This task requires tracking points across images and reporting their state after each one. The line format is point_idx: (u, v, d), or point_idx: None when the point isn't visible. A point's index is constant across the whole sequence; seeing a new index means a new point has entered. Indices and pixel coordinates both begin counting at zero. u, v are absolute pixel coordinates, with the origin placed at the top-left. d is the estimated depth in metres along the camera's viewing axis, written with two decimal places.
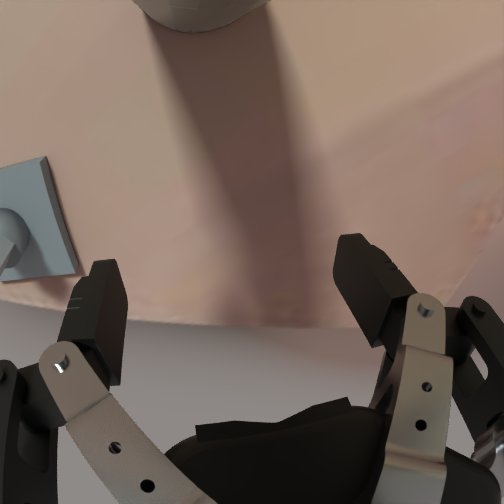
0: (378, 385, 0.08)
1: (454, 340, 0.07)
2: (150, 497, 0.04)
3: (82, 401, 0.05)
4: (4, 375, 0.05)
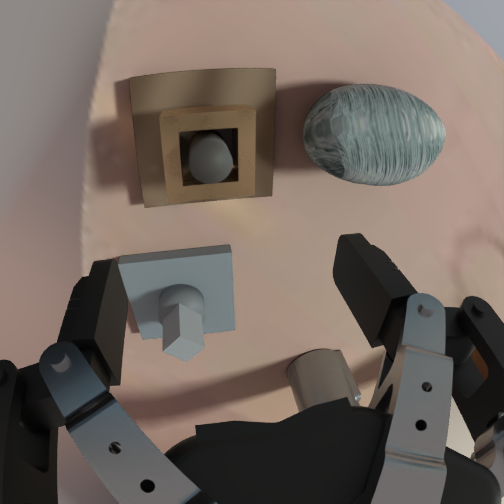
0: (378, 385, 0.08)
1: (454, 340, 0.07)
2: (150, 497, 0.04)
3: (82, 401, 0.05)
4: (4, 375, 0.05)
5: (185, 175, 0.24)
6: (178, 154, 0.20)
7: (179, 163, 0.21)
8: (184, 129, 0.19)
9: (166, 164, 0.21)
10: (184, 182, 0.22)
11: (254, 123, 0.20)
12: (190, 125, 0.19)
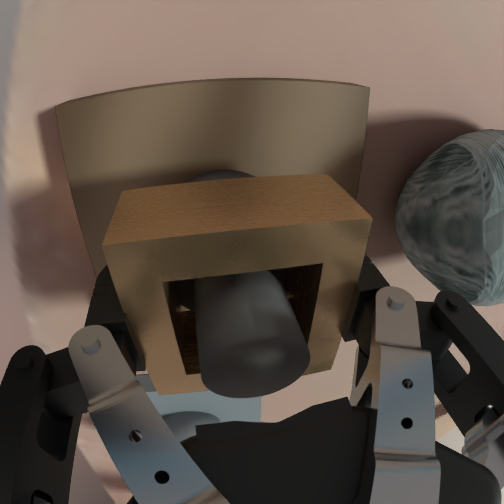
0: (355, 383, 0.08)
1: (427, 334, 0.08)
2: (163, 488, 0.04)
3: (108, 386, 0.06)
4: (32, 360, 0.06)
5: (187, 326, 0.11)
6: (168, 327, 0.08)
7: (173, 342, 0.09)
8: (177, 275, 0.07)
9: (142, 344, 0.08)
10: (188, 357, 0.10)
11: (363, 250, 0.08)
12: (194, 265, 0.07)
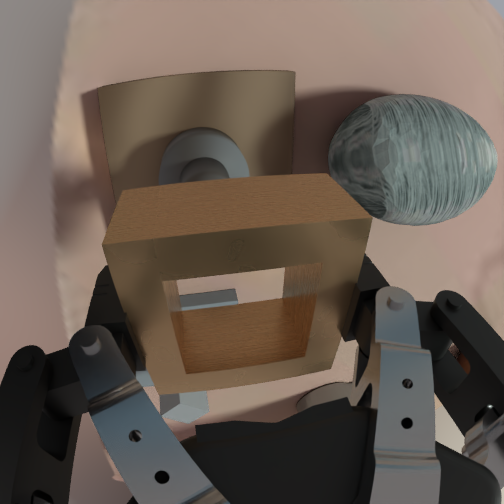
0: (355, 383, 0.08)
1: (427, 334, 0.08)
2: (162, 488, 0.04)
3: (108, 386, 0.06)
4: (32, 360, 0.06)
5: (187, 326, 0.11)
6: (168, 326, 0.08)
7: (173, 342, 0.09)
8: (177, 274, 0.07)
9: (143, 344, 0.08)
10: (188, 357, 0.10)
11: (363, 249, 0.08)
12: (194, 264, 0.07)
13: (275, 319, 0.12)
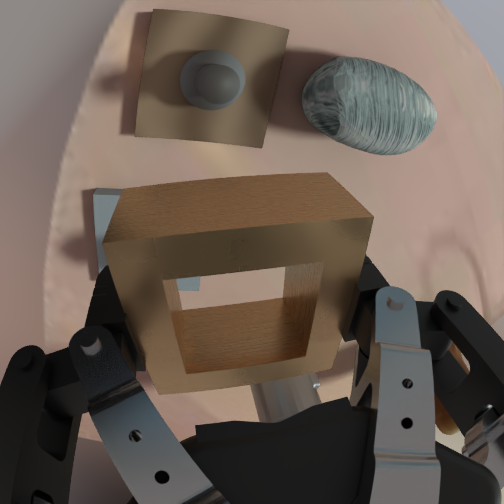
0: (355, 383, 0.08)
1: (427, 334, 0.08)
2: (163, 488, 0.04)
3: (108, 386, 0.06)
4: (32, 360, 0.06)
5: (188, 325, 0.11)
6: (169, 326, 0.08)
7: (173, 341, 0.09)
8: (178, 273, 0.07)
9: (143, 343, 0.08)
10: (188, 356, 0.10)
11: (364, 248, 0.08)
12: (195, 263, 0.07)
13: (275, 319, 0.12)
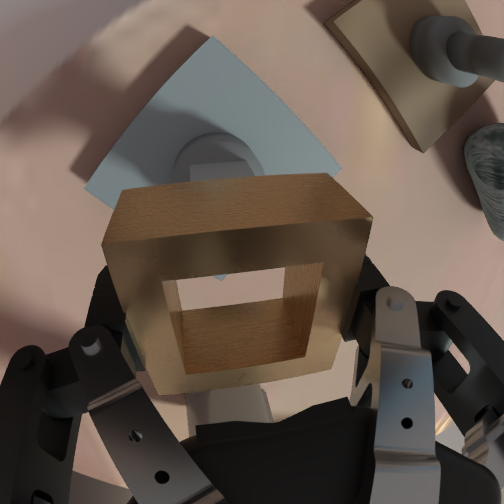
0: (355, 383, 0.08)
1: (427, 334, 0.08)
2: (162, 488, 0.04)
3: (108, 386, 0.06)
4: (32, 360, 0.06)
5: (187, 326, 0.11)
6: (168, 326, 0.08)
7: (173, 342, 0.09)
8: (176, 274, 0.07)
9: (142, 344, 0.08)
10: (187, 357, 0.10)
11: (363, 249, 0.08)
12: (194, 264, 0.07)
13: (275, 319, 0.12)
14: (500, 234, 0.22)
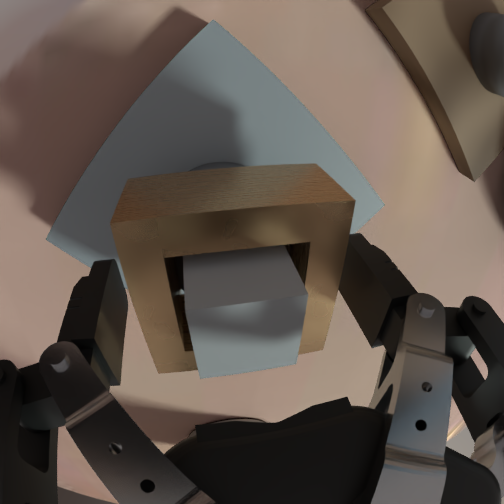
0: (378, 385, 0.08)
1: (454, 340, 0.07)
2: (150, 497, 0.04)
3: (82, 401, 0.05)
4: (4, 375, 0.05)
5: None
6: (169, 302, 0.09)
7: (173, 318, 0.09)
8: (177, 251, 0.08)
9: (144, 320, 0.09)
10: (186, 336, 0.11)
11: (347, 230, 0.09)
12: (193, 242, 0.08)
13: None
14: None
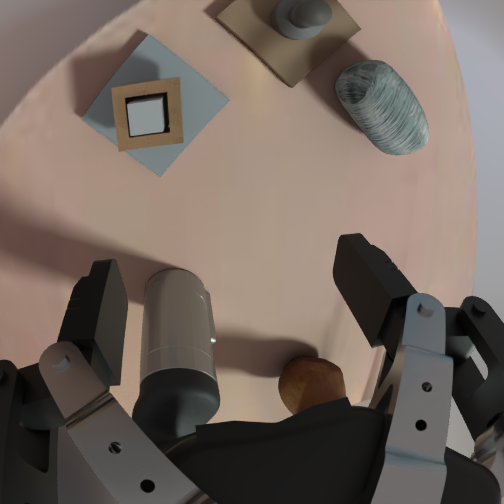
0: (378, 385, 0.08)
1: (454, 340, 0.07)
2: (150, 497, 0.04)
3: (82, 401, 0.05)
4: (4, 375, 0.05)
5: None
6: (125, 114, 0.25)
7: (126, 120, 0.26)
8: (128, 95, 0.24)
9: (116, 122, 0.26)
10: (131, 136, 0.27)
11: (179, 88, 0.25)
12: (133, 92, 0.24)
13: (165, 129, 0.29)
14: (376, 144, 0.34)
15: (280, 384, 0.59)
